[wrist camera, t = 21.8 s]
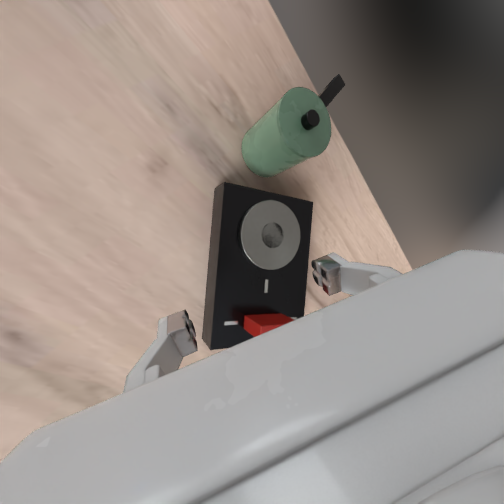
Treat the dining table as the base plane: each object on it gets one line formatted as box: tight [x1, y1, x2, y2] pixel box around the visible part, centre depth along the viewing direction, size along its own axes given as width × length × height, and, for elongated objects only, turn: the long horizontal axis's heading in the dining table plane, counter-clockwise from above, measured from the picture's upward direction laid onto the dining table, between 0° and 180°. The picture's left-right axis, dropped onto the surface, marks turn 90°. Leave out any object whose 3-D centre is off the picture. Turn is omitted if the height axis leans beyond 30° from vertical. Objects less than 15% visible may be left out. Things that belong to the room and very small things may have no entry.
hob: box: [202, 182, 313, 350], centre depth 26 cm, size 18×11×3 cm, turn 173°
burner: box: [239, 200, 300, 270], centre depth 24 cm, size 7×7×1 cm
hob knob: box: [244, 313, 294, 337], centre depth 23 cm, size 4×1×4 cm, turn 83°
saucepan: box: [242, 74, 345, 177], centre depth 24 cm, size 9×8×8 cm
